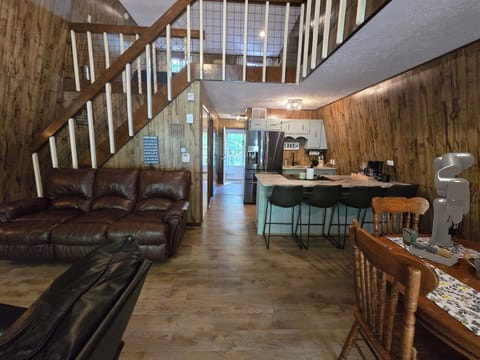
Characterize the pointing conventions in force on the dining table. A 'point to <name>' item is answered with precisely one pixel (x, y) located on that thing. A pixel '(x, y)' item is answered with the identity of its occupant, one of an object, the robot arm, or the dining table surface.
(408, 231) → the food container
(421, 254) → the grey tray
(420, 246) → the rocker
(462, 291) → the dining table surface
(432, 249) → the rocker
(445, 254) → the rocker
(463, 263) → the dining table surface
